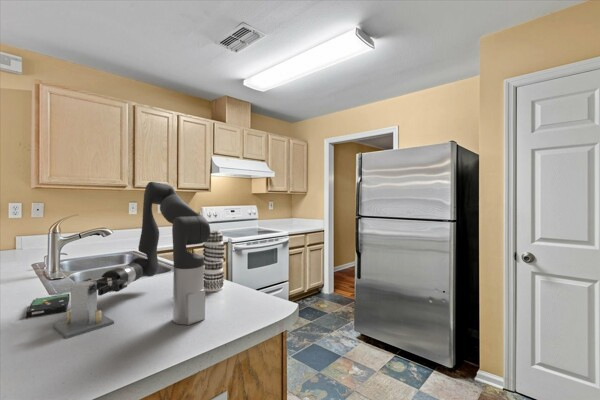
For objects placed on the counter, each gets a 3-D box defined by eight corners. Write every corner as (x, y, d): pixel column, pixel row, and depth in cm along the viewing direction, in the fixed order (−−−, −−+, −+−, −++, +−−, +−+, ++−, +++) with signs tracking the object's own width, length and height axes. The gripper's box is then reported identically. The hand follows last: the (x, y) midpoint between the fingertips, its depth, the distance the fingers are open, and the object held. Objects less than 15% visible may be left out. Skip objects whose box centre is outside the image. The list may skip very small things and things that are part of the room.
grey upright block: (96, 319, 91) (97, 281, 91) (87, 325, 87) (87, 285, 87) (80, 319, 91) (80, 281, 91) (70, 325, 87) (70, 285, 87)
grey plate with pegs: (114, 323, 90) (114, 309, 90) (66, 338, 80) (66, 322, 80) (98, 314, 97) (98, 301, 97) (53, 326, 87) (53, 312, 87)
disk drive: (67, 313, 99) (69, 300, 111) (67, 305, 99) (69, 292, 111) (25, 320, 93) (33, 305, 105) (25, 311, 93) (33, 298, 105)
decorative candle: (215, 292, 120) (216, 232, 120) (197, 290, 124) (198, 231, 123) (228, 286, 129) (229, 230, 129) (211, 284, 132) (212, 229, 132)
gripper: (99, 267, 106) (62, 279, 89) (138, 267, 105) (108, 280, 89) (99, 287, 106) (62, 304, 89) (138, 288, 105) (108, 304, 89)
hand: (85, 292), depth 89 cm, fingers open, 8 cm apart
